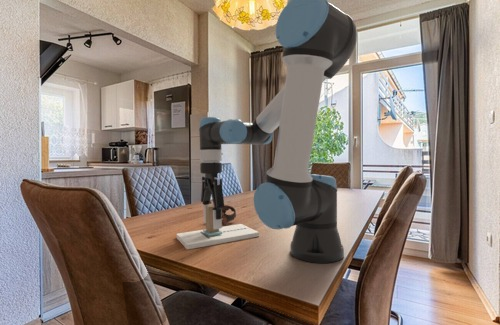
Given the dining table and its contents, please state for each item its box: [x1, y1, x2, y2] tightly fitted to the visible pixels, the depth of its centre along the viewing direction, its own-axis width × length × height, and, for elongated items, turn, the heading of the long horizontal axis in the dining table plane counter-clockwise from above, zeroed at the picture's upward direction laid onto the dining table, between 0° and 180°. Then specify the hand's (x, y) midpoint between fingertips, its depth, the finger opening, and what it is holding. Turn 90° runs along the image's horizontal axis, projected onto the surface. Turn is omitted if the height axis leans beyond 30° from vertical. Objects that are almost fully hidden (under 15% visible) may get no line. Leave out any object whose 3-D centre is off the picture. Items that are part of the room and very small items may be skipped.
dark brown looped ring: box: [221, 204, 237, 225], centre depth 117 cm, size 12×10×8 cm
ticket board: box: [176, 223, 260, 250], centre depth 95 cm, size 14×26×2 cm, turn 119°
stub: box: [202, 204, 222, 236], centre depth 94 cm, size 6×5×10 cm
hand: (212, 225), depth 94 cm, fingers open, 9 cm apart
